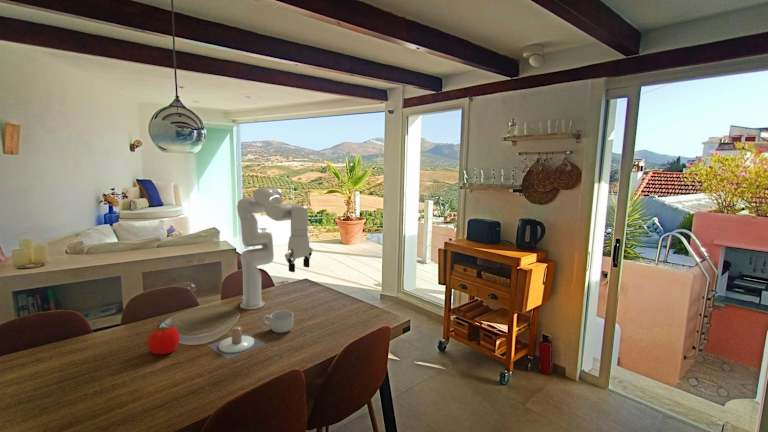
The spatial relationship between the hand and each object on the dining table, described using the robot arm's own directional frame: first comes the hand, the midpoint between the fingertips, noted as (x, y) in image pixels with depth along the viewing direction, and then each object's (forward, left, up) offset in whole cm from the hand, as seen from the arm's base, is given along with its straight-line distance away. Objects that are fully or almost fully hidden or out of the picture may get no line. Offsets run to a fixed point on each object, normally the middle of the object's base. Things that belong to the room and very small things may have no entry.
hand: (299, 269), depth 169 cm
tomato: (-24, -49, -30) cm, 63 cm away
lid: (-7, -27, -29) cm, 41 cm away
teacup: (-7, -6, -30) cm, 32 cm away
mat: (-7, -27, -30) cm, 41 cm away
